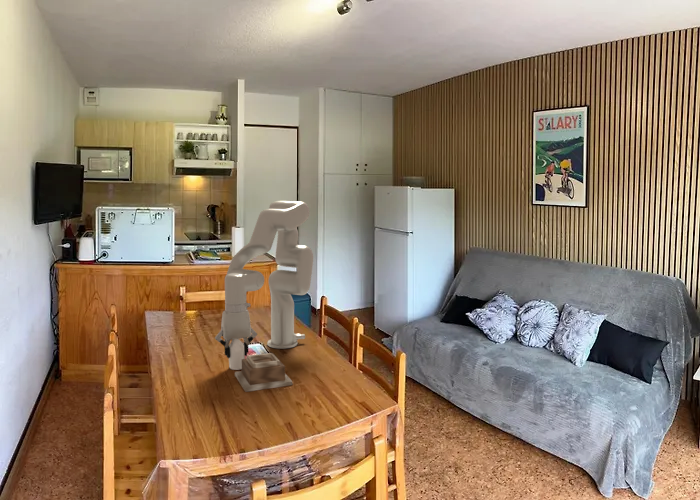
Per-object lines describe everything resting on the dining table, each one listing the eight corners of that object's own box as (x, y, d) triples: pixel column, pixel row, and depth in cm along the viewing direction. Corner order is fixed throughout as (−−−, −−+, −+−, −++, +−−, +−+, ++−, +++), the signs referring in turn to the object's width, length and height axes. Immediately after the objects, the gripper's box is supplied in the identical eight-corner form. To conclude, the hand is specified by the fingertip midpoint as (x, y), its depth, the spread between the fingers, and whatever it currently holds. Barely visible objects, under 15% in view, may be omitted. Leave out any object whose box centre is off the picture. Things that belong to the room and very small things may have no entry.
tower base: (278, 369, 193) (278, 348, 192) (292, 384, 179) (292, 362, 178) (234, 375, 186) (234, 354, 185) (245, 391, 172) (245, 369, 171)
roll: (247, 334, 194) (238, 338, 189) (248, 366, 195) (239, 371, 190) (234, 332, 196) (224, 336, 191) (234, 363, 198) (225, 368, 193)
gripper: (256, 303, 198) (257, 349, 200) (209, 307, 191) (210, 355, 193) (262, 307, 191) (262, 356, 193) (213, 312, 184) (214, 362, 186)
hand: (236, 355), depth 193 cm, fingers closed on roll, 5 cm apart
